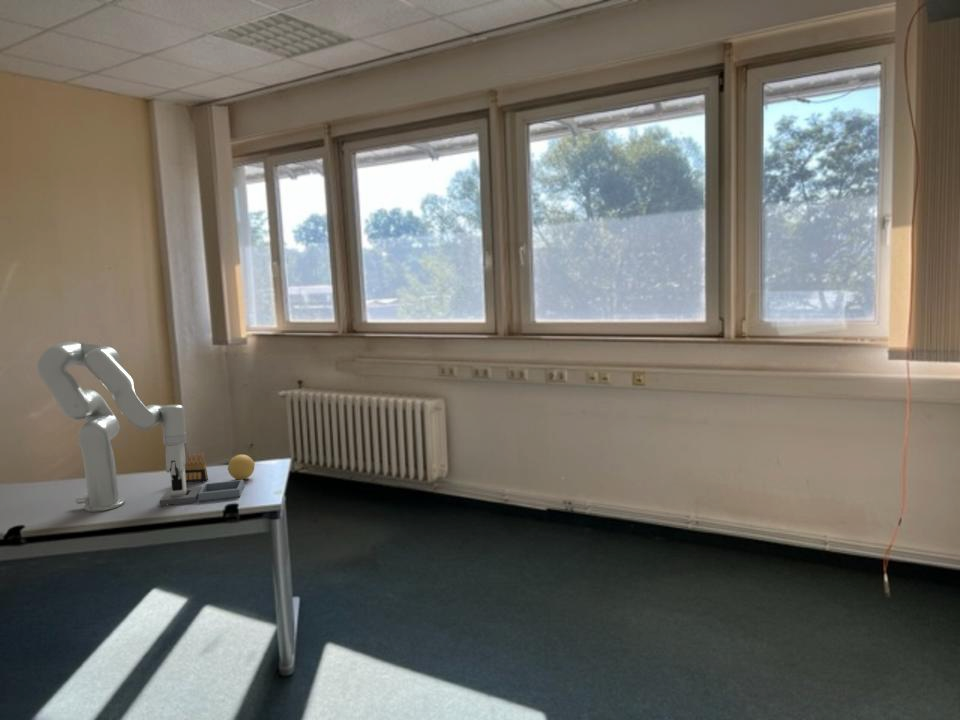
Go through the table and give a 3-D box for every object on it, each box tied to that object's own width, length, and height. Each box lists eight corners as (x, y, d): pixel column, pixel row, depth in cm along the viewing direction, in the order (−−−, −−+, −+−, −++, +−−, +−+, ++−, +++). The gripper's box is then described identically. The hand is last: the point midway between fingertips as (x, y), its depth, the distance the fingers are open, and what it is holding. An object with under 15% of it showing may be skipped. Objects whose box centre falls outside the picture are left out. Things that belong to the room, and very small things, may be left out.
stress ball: (250, 484, 255) (264, 463, 261) (231, 470, 250) (246, 448, 256) (236, 484, 261) (250, 463, 267) (218, 470, 256) (232, 449, 262)
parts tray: (198, 501, 234) (198, 493, 234) (205, 491, 246) (204, 483, 245) (240, 497, 237) (239, 489, 237) (244, 487, 249) (243, 479, 248)
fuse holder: (159, 506, 231) (159, 500, 231) (168, 495, 243) (167, 490, 243) (195, 502, 234) (195, 496, 234) (202, 491, 246) (201, 486, 245)
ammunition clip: (208, 480, 260) (205, 451, 258) (206, 481, 258) (203, 452, 256) (181, 481, 260) (178, 452, 258) (179, 483, 258) (176, 453, 256)
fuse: (172, 497, 236) (170, 470, 235) (175, 493, 240) (172, 467, 238) (184, 496, 237) (182, 469, 235) (187, 492, 241) (184, 466, 239)
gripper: (169, 434, 243) (173, 482, 245) (157, 445, 227) (162, 496, 229) (190, 433, 244) (194, 480, 247) (180, 443, 228) (184, 494, 231)
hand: (178, 487), depth 238 cm, fingers closed on fuse, 3 cm apart
